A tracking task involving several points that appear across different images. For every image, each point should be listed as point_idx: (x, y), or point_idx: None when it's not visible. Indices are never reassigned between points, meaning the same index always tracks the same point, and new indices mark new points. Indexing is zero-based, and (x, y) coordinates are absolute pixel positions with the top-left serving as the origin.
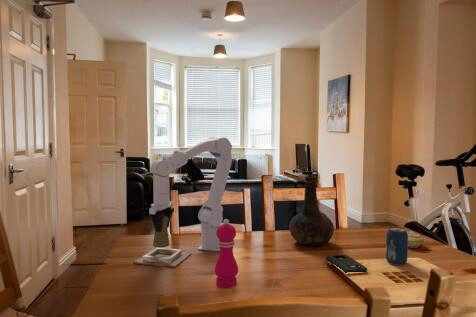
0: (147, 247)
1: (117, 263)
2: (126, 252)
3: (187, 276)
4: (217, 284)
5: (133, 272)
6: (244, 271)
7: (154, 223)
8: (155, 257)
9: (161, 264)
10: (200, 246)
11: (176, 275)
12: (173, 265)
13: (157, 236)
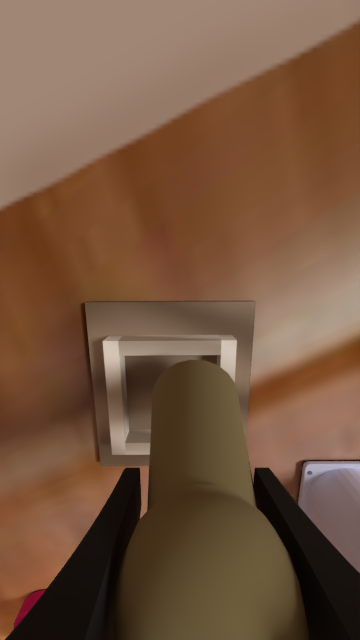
0: (300, 245)
1: (62, 234)
2: (206, 182)
3: (54, 516)
4: (25, 602)
5: (9, 353)
6: None
7: (89, 552)
8: (108, 397)
9: (98, 419)
10: (331, 467)
11: (48, 487)
12: (104, 459)
13: (151, 438)
